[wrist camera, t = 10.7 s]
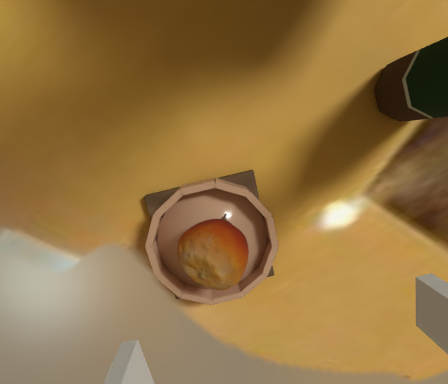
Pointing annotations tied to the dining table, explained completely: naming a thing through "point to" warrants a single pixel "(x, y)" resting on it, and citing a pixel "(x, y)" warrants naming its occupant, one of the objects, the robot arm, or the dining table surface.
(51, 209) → the dining table surface
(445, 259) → the dining table surface
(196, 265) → the fruit
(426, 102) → the beer bottle
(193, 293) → the bowl
